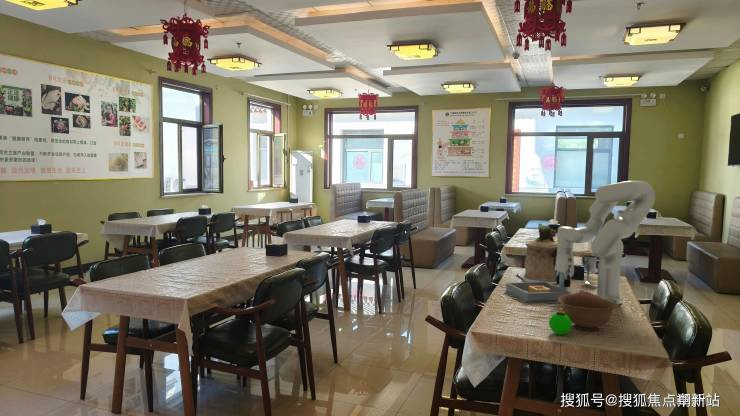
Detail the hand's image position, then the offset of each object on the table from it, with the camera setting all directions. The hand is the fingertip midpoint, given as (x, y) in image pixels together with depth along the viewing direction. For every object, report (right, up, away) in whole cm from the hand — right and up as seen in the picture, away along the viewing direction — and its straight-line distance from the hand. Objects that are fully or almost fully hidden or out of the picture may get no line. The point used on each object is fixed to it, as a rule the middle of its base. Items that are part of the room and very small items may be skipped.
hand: (563, 285), depth 255 cm
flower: (-4, -7, -37) cm, 38 cm away
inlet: (-14, -4, -5) cm, 16 cm away
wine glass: (+23, -2, +24) cm, 33 cm away
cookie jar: (0, -2, +30) cm, 31 cm away
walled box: (-17, -4, -9) cm, 19 cm away
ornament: (-27, -8, -67) cm, 73 cm away
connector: (0, -4, 0) cm, 4 cm away
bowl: (-14, -8, -58) cm, 60 cm away
